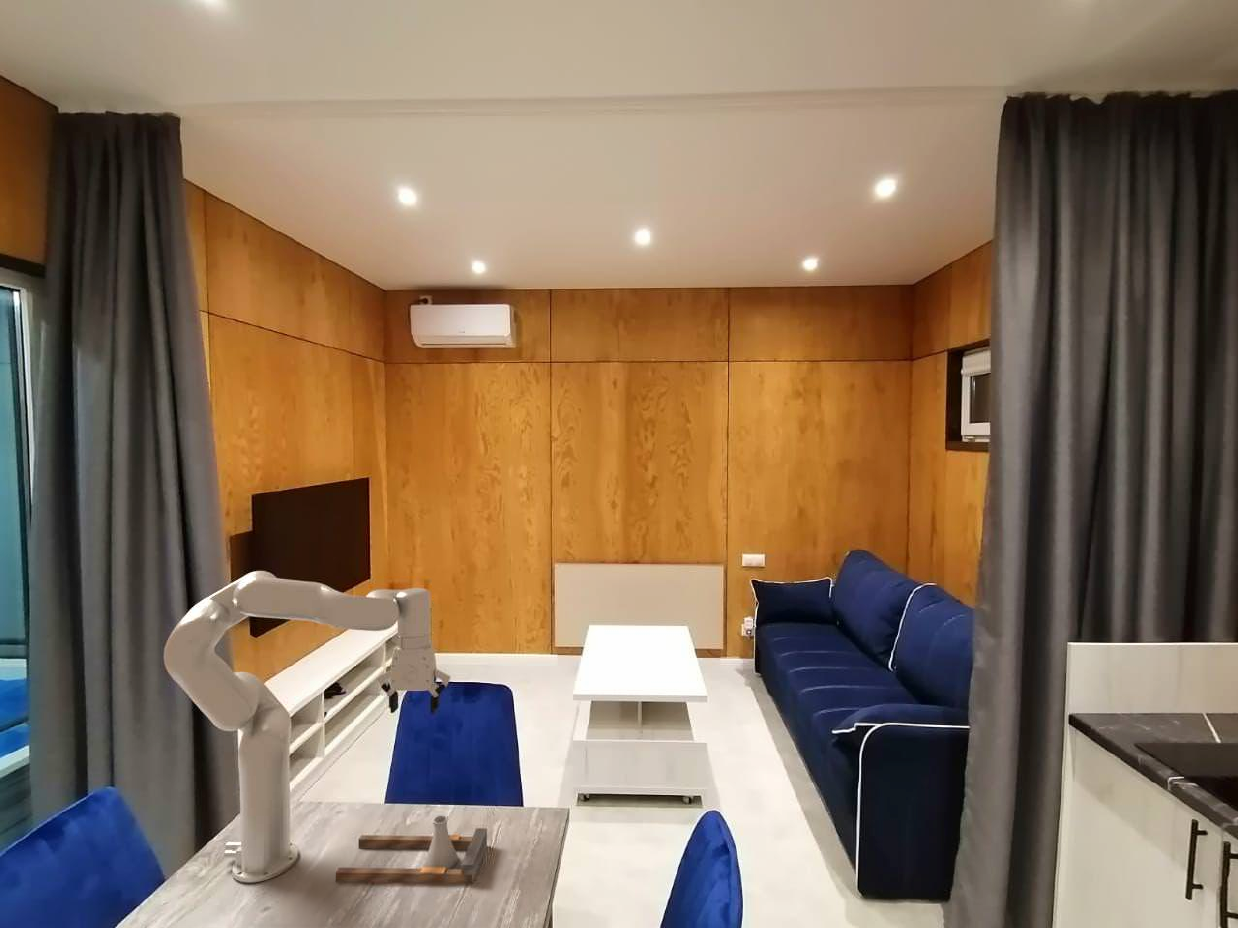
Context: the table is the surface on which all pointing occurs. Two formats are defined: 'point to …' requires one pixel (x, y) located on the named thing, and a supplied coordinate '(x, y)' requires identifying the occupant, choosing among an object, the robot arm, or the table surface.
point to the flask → (441, 846)
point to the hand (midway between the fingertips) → (414, 710)
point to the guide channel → (426, 874)
